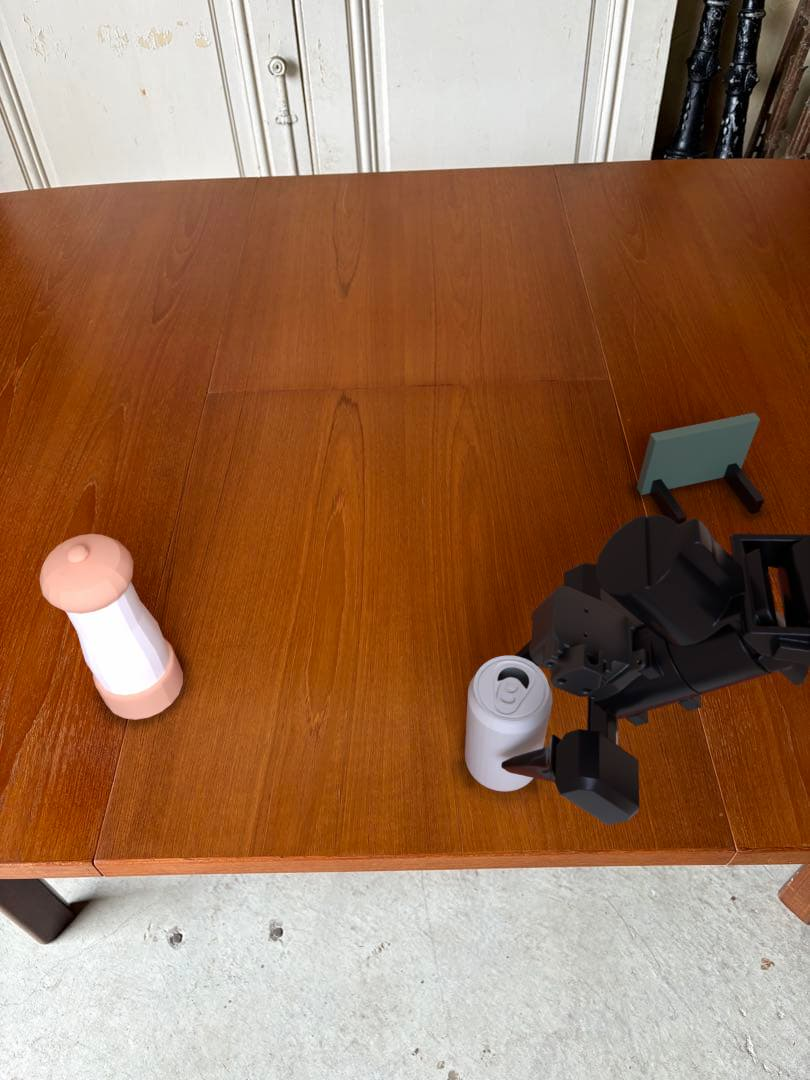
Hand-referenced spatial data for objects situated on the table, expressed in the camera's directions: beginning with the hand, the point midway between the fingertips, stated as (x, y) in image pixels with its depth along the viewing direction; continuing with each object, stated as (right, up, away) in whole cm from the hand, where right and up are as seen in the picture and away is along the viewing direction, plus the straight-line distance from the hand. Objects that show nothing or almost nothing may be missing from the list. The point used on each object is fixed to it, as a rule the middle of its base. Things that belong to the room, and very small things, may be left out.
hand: (509, 713), depth 64 cm
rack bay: (+24, +18, +26) cm, 40 cm away
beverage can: (0, -5, +6) cm, 8 cm away
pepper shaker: (-32, 0, +12) cm, 35 cm away
